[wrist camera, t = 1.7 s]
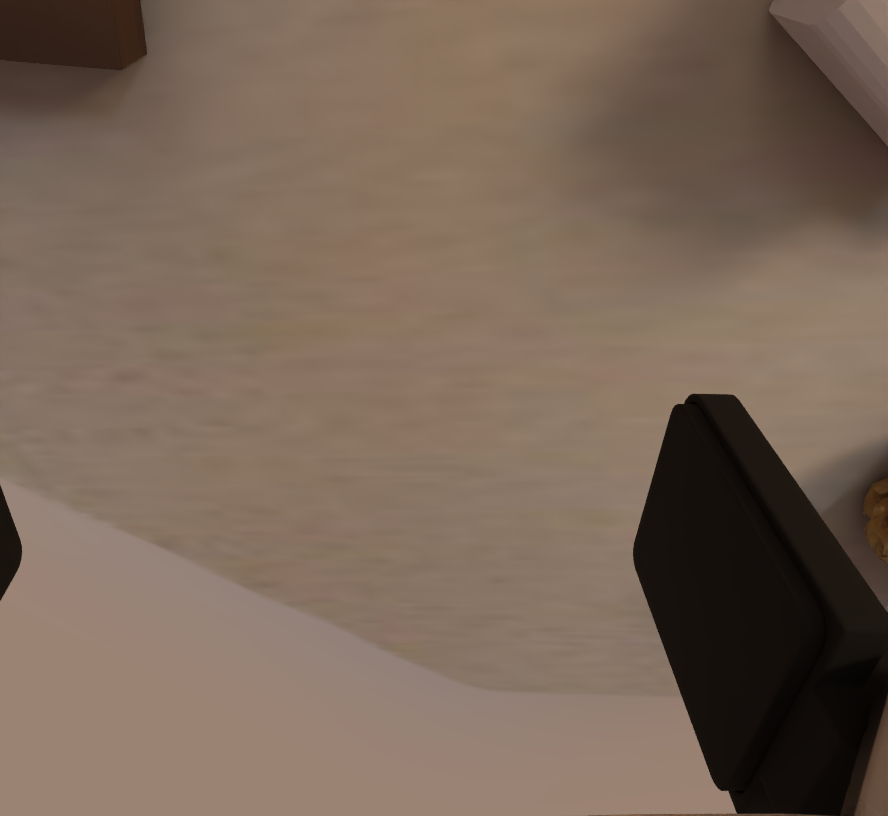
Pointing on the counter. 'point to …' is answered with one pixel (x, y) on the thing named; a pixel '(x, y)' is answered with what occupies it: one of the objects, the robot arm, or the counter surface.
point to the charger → (845, 49)
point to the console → (72, 32)
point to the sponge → (877, 518)
